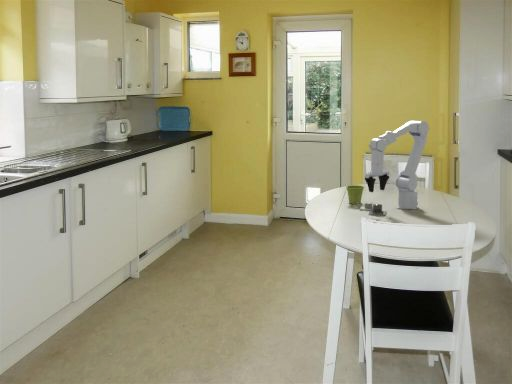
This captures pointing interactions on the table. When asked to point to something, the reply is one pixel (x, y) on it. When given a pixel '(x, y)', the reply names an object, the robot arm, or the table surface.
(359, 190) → the plant pot
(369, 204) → the grey square holder
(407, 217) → the table surface
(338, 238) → the table surface
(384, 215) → the coaster
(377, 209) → the dark grey rounded piece
